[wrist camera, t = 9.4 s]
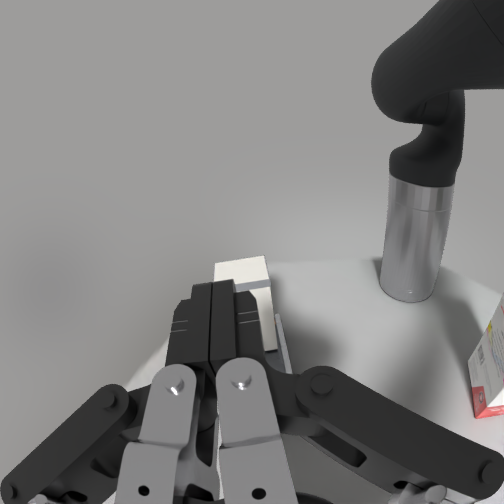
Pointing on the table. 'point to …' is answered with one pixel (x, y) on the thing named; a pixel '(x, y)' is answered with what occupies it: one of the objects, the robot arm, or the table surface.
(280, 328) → the fader console
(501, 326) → the ink cartridge box
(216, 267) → the fader knob
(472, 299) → the table surface
